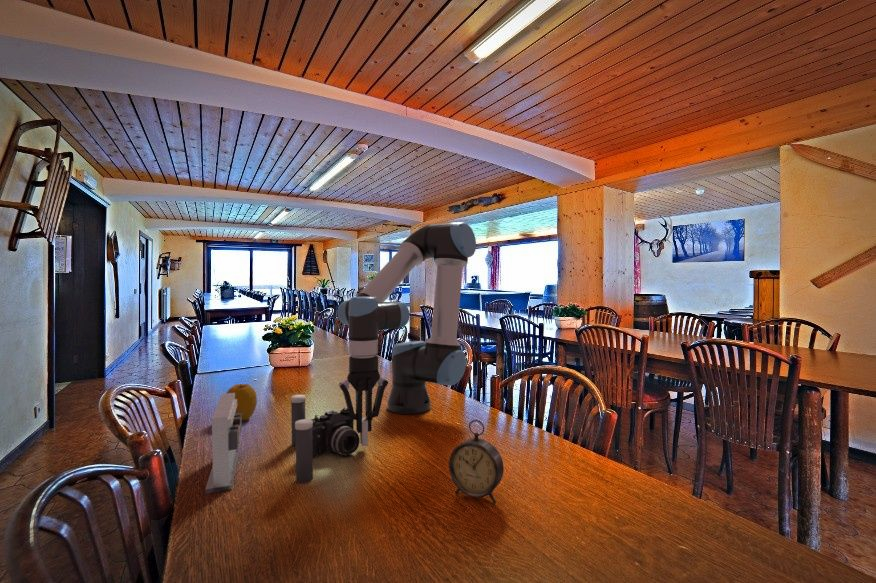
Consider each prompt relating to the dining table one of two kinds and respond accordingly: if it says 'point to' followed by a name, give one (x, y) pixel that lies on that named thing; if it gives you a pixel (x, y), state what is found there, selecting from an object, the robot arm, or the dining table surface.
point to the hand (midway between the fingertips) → (364, 443)
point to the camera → (334, 433)
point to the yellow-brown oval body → (244, 400)
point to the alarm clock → (476, 467)
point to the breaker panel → (224, 444)
